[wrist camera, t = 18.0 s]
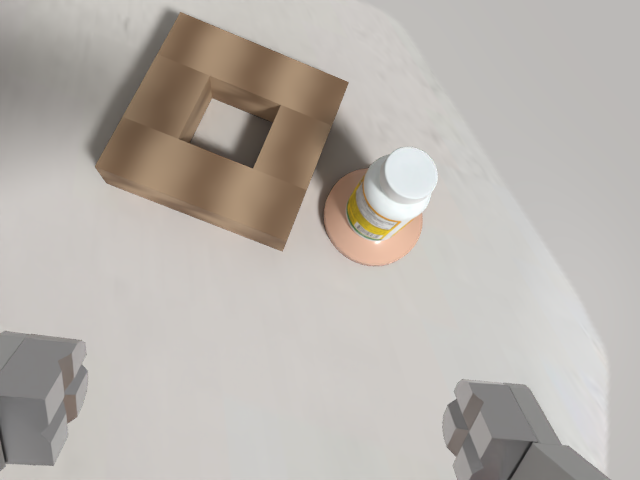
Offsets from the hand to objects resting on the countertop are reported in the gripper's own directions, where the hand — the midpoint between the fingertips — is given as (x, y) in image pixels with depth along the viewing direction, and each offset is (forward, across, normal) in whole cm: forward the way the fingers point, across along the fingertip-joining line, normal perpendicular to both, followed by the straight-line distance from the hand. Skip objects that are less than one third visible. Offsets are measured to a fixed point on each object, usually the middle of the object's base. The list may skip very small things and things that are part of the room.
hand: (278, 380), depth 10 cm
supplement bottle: (+30, -9, +10) cm, 33 cm away
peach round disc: (+31, -9, +10) cm, 34 cm away
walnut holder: (+35, +4, +7) cm, 36 cm away
